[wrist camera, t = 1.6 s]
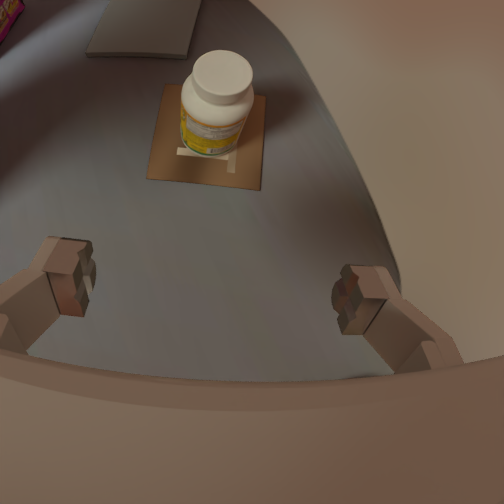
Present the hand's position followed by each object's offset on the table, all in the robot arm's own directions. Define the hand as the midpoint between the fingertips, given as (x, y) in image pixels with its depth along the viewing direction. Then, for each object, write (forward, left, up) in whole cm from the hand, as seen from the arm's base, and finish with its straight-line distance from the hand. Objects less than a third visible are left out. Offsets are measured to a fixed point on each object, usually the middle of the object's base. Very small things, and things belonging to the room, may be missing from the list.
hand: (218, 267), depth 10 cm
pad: (-9, +27, -17) cm, 33 cm away
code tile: (0, +13, -17) cm, 22 cm away
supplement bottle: (0, +13, -17) cm, 22 cm away
